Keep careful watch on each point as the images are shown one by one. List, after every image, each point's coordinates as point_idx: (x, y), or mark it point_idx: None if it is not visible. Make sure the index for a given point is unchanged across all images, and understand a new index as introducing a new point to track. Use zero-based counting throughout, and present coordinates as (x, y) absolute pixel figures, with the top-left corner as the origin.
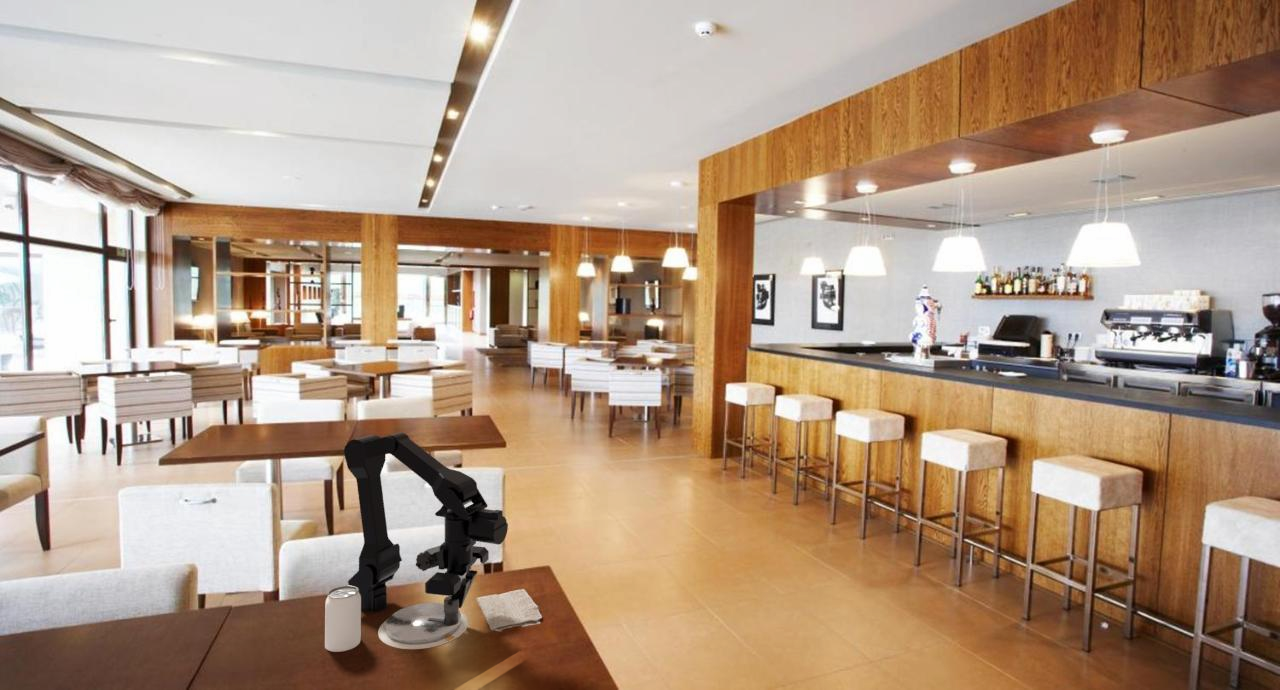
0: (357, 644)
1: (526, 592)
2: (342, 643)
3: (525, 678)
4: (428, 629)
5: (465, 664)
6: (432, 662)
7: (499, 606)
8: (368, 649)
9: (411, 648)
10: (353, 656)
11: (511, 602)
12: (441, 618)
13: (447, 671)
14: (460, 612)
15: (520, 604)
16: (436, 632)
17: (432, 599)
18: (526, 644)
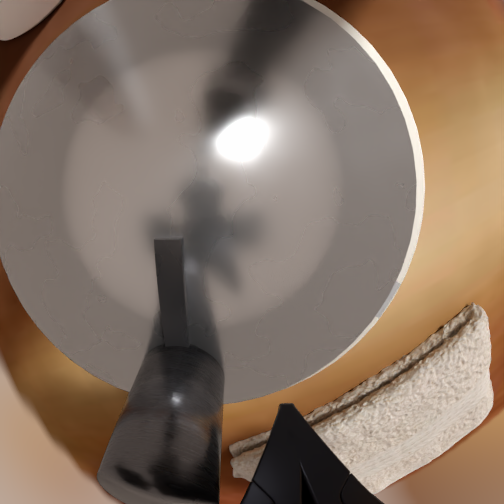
0: (2, 31)
1: (466, 434)
2: None
3: (102, 489)
4: (68, 292)
5: (70, 411)
6: (29, 327)
7: (397, 433)
8: (35, 53)
9: None
10: (4, 48)
11: (418, 443)
12: (208, 313)
13: (26, 376)
14: (376, 320)
15: (399, 464)
16: (65, 342)
17: (491, 112)
18: (221, 493)
